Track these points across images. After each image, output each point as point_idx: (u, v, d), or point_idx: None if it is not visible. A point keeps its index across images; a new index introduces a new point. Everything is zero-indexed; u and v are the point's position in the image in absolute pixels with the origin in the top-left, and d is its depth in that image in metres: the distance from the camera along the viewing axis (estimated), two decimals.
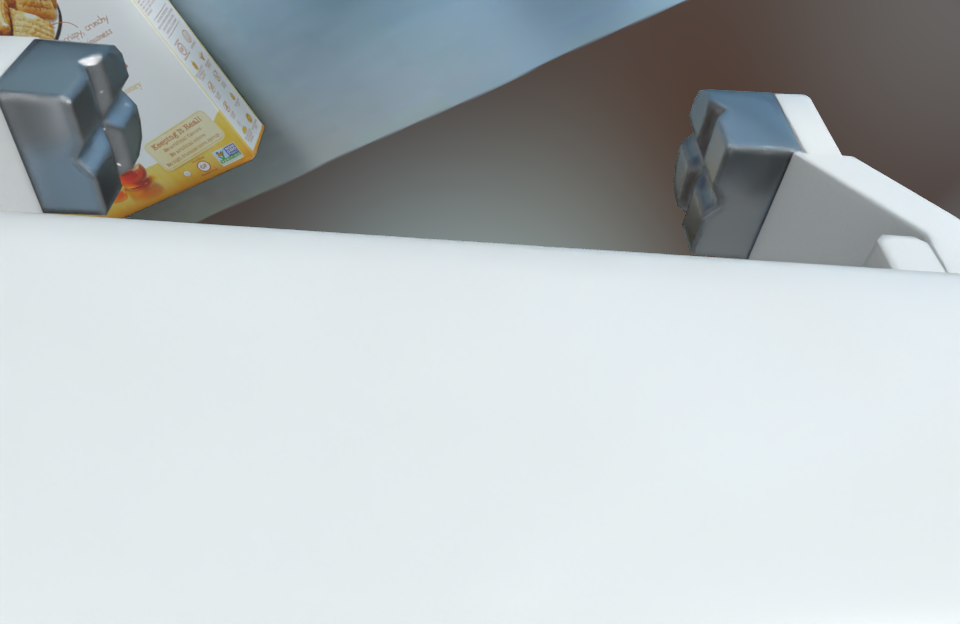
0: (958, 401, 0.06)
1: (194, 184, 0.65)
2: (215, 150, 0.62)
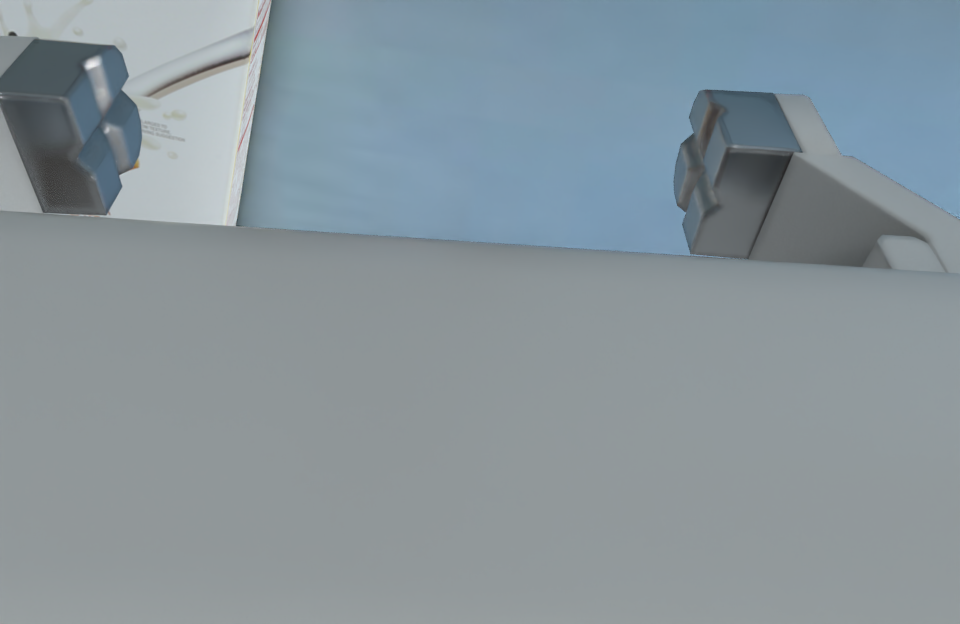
0: (958, 401, 0.06)
1: None
2: None
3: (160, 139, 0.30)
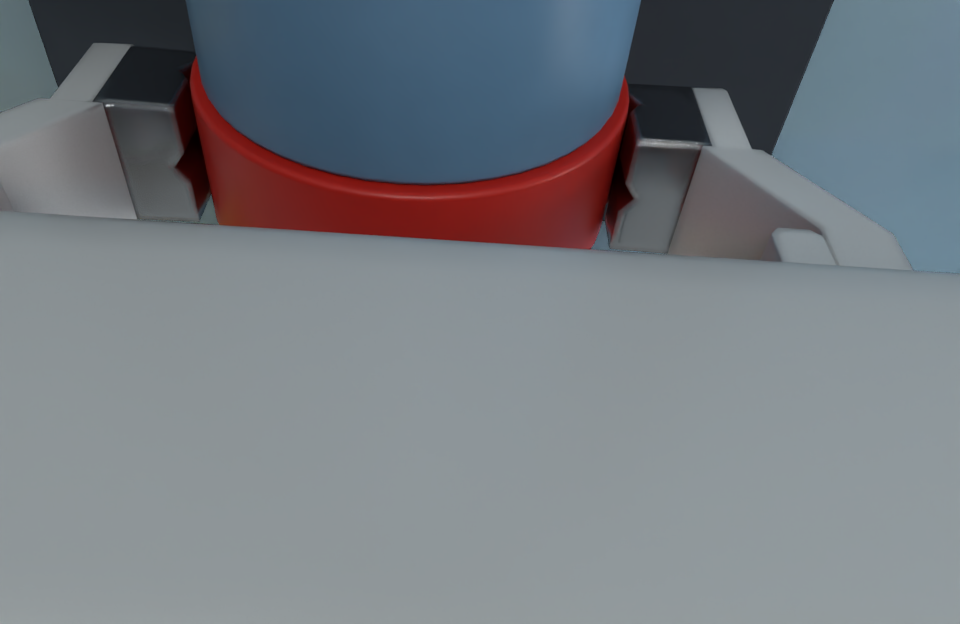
0: (958, 400, 0.06)
1: None
2: None
3: None
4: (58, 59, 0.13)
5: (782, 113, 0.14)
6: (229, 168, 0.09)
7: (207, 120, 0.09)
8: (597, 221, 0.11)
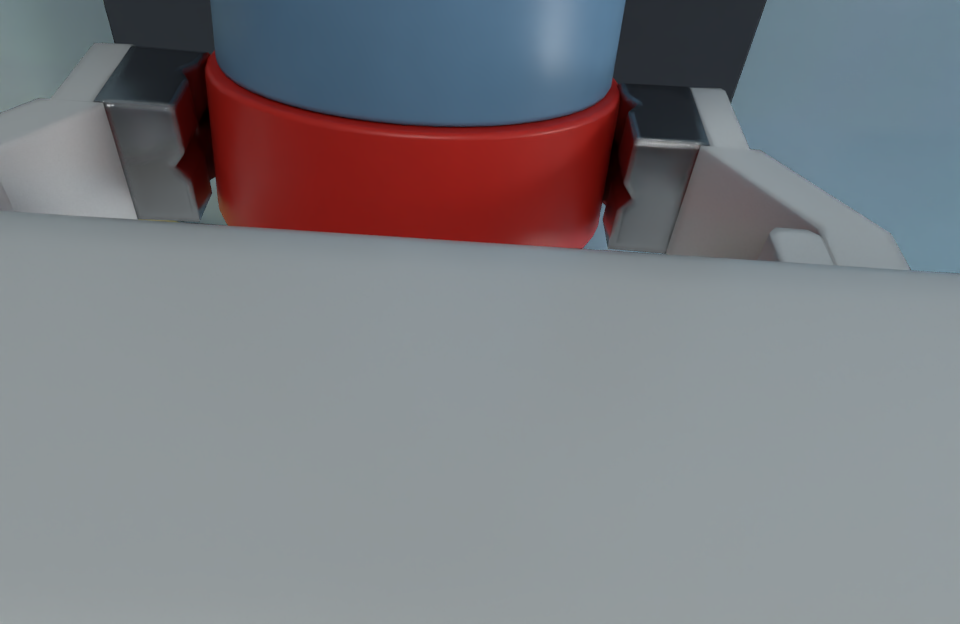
0: (958, 401, 0.06)
1: None
2: None
3: None
4: None
5: None
6: (240, 128, 0.09)
7: (220, 87, 0.09)
8: (595, 208, 0.11)
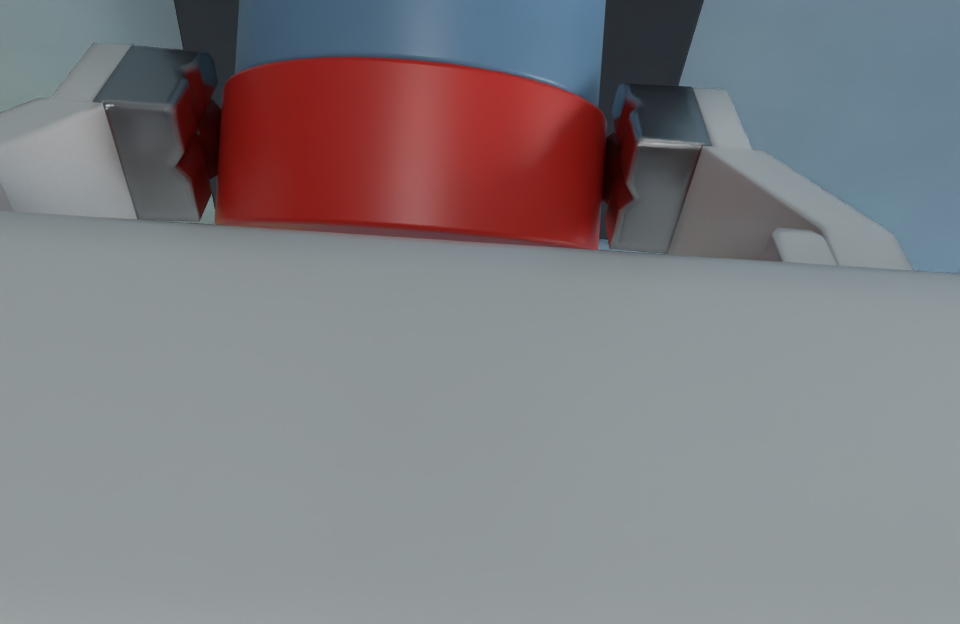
0: (958, 401, 0.06)
1: None
2: None
3: None
4: None
5: None
6: (254, 94, 0.10)
7: (239, 73, 0.10)
8: (595, 213, 0.11)
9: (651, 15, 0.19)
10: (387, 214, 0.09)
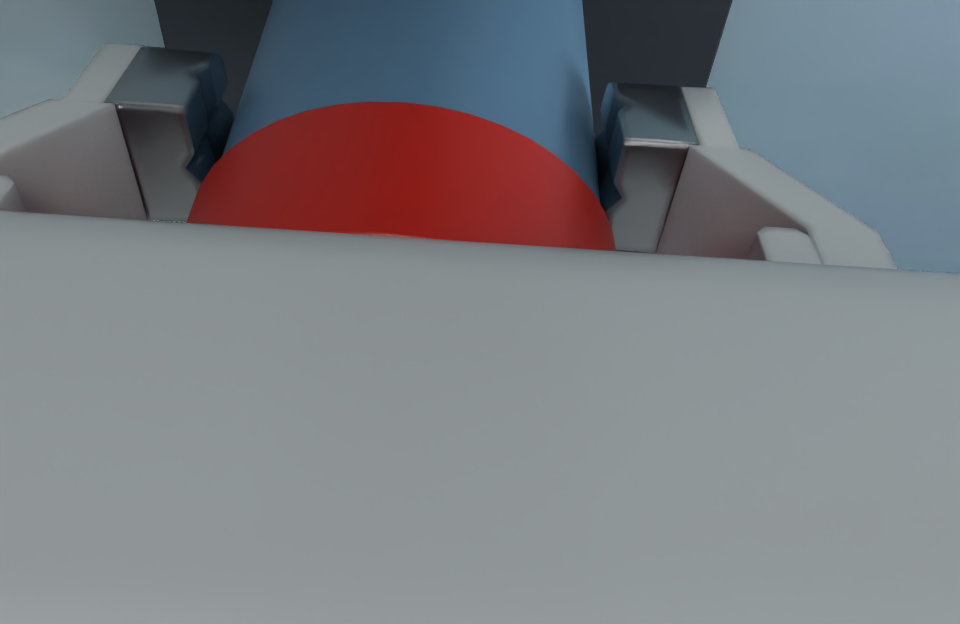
0: (958, 401, 0.06)
1: None
2: None
3: None
4: None
5: None
6: (225, 167, 0.09)
7: None
8: None
9: None
10: (368, 223, 0.07)
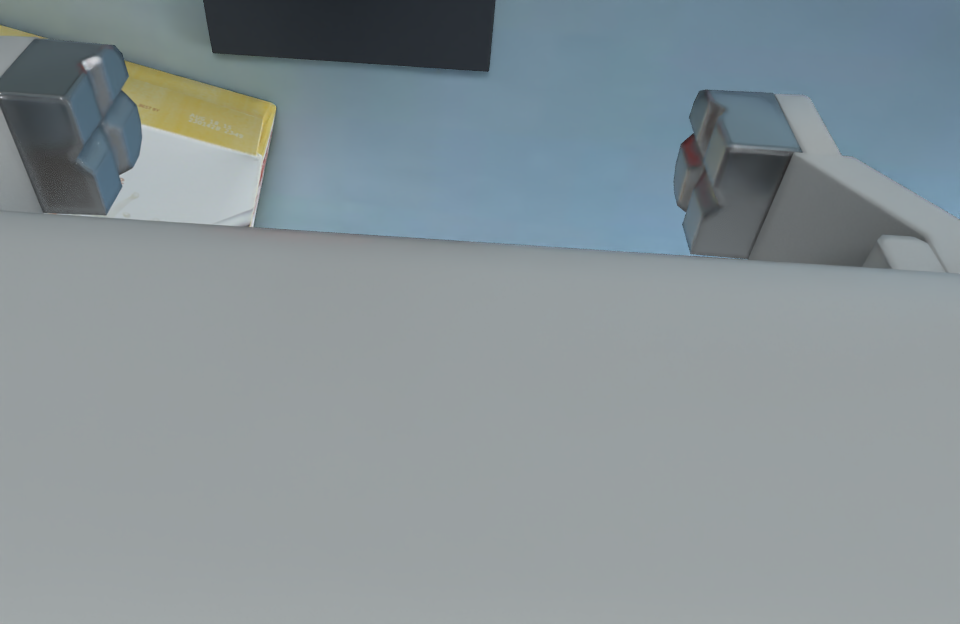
0: (958, 401, 0.06)
1: None
2: None
3: None
4: None
5: (491, 16, 0.35)
6: None
7: None
8: None
9: None
10: None
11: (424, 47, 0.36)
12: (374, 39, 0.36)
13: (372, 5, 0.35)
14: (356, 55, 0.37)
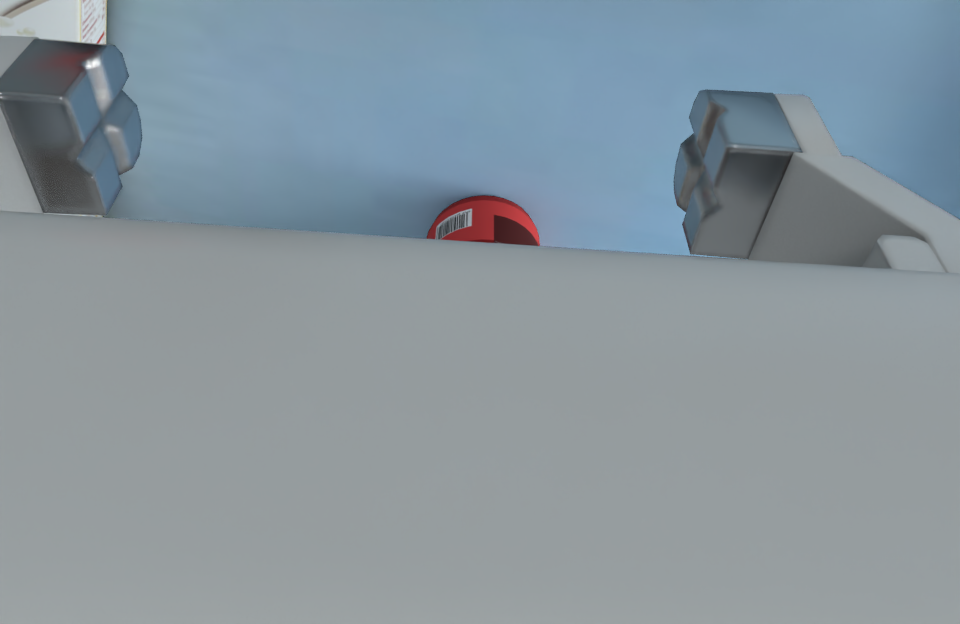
0: (958, 401, 0.06)
1: None
2: None
3: None
4: None
5: None
6: None
7: None
8: None
9: None
10: None
11: None
12: None
13: None
14: None
